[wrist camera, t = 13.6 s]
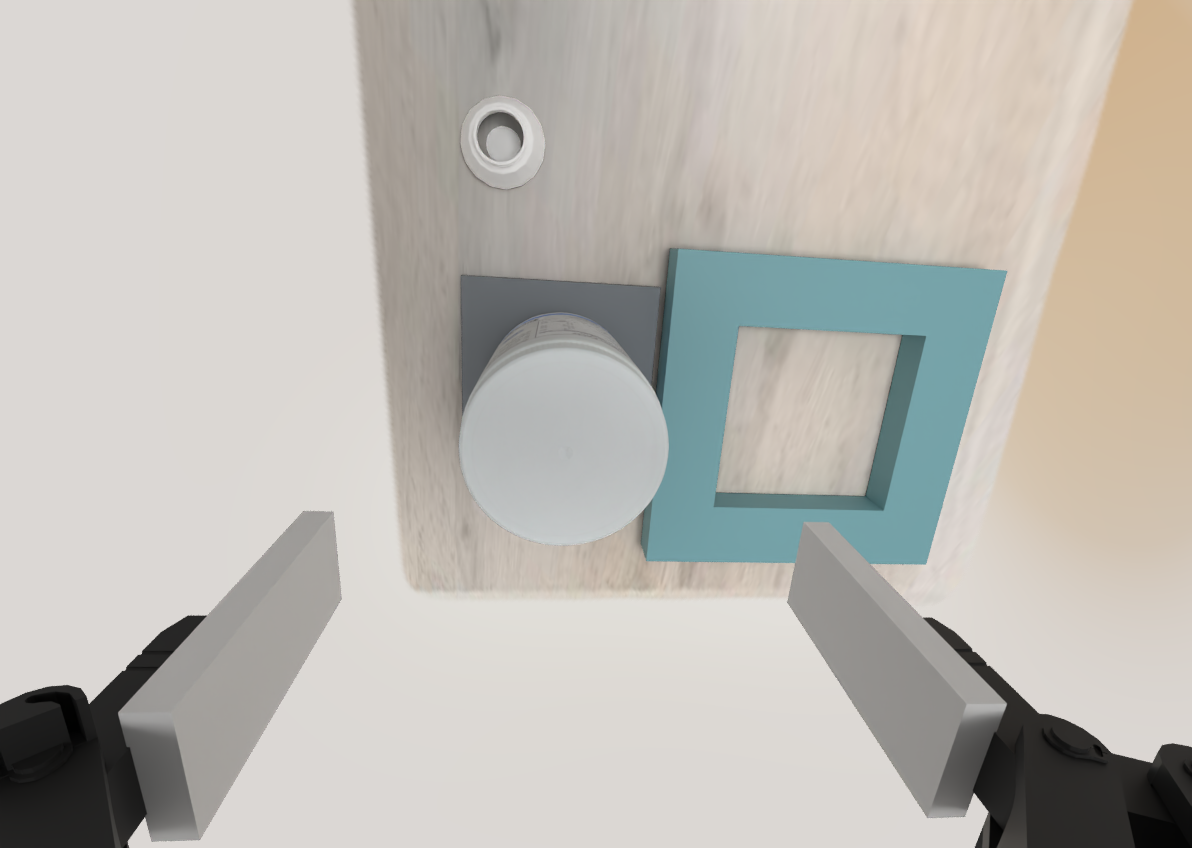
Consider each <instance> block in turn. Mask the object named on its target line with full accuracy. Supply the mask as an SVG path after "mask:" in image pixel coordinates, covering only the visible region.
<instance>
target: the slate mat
mask: <svg viewBox="0 0 1192 848" xmlns="http://www.w3.org/2000/svg"><path fill="white" fill-rule="evenodd" d="M660 289H661V288H660V287H651V286H634V285H618V284H601V283H584V282H568V281H551V280H535V279H518V278H502V277H485V276H468V275H461V319H462V416H463V413H464V409H465V407H466V404H467V402H468V399H469V397H470V395H471V393H472V391H473V389H474V387H475V385H476V384H477V382H478V380H479V378H480V376H481V374H482V373H483V371H484V369H485V367H486V366H487V364H488V362H489V361H490V359H491V357H492V356H493V354H494V352H495V351H496V349H497V347H498V346H499V344H500V343H501V341H502V340H503V339H504V338H505V336H506V335H507V334H508V333H509V332H510V331H511V330H512V329H514V328H515V327H516V326H518V325H519V324H521V323H522V322H524V321H526V320H528V319H530V318H532V317H535V316H538V315H541V314H547V313H556V312H564V313H572V314H576V315H580V316H583V317H586V318H588V319H590V320H592V321H594V322H596V323H597V324H599V325H600V326H602V327H603V328H604V329H605V330H607V331H608V332H609V333H610V334H611V335H612V336H613V338H614V339H615V340H616V341H617V342H618V344H619V345H620V346H621V347H622V348H623V350H624V351H625V352H626V353H627V355H628V356H629V357H630V358H631V360H632V361H633V362H634V363H635V365H636V366H637V367H638V368H639V370H640V371H641V372H642V374H643V375H644V376H645V378H646V379H647V381H648V382H649V384H650V385H651V383H652V373H653V362H654V352H655V342H656V331H657V321H658V310H659V300H660Z"/></svg>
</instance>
